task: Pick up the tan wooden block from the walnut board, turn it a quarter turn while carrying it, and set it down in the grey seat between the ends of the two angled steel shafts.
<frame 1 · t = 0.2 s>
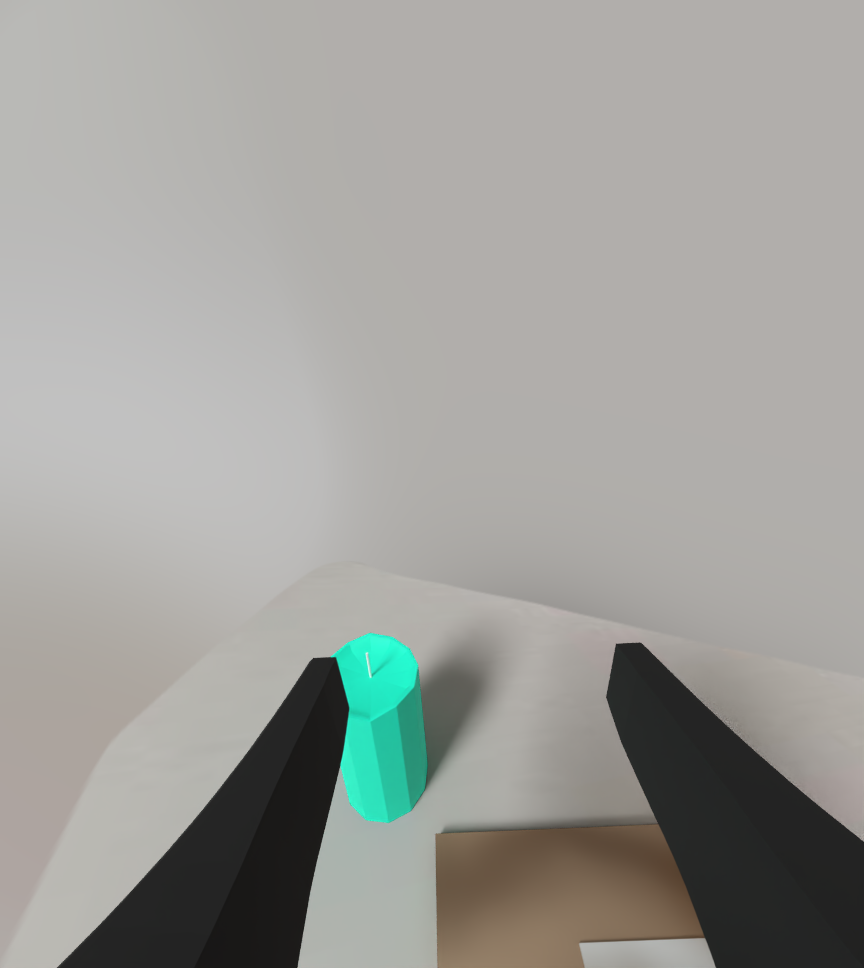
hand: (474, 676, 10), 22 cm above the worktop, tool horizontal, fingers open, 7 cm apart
candle: (387, 774, 27), on the worktop
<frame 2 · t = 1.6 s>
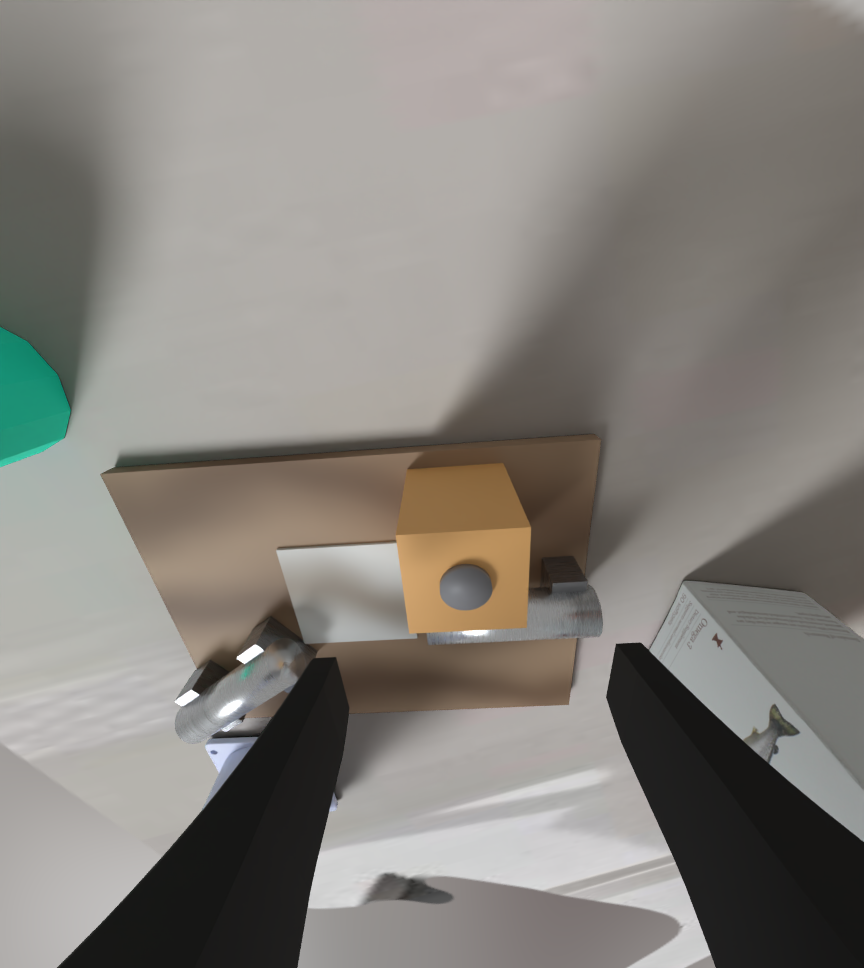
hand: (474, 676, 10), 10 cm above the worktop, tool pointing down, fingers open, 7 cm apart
shaft b: (260, 650, 23), resting on board
candle: (3, 388, 17), on the worktop
tan wooden block: (457, 508, 18), point 1 cm above the worktop, touching board
board: (374, 597, 22), on the worktop
supplement box: (711, 628, 23), on the worktop
shaft a: (500, 577, 21), resting on board
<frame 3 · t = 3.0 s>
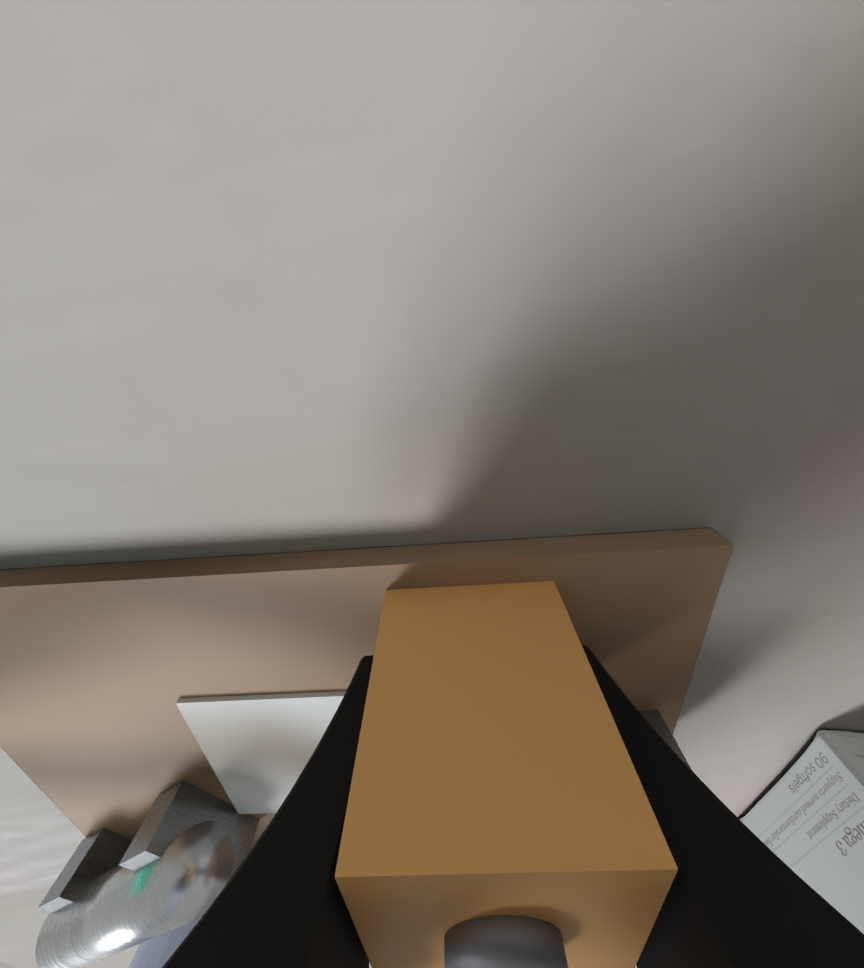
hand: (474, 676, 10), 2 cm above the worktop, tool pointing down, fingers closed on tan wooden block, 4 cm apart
shaft b: (181, 806, 16), resting on board
tan wooden block: (471, 645, 11), point 1 cm above the worktop, touching board, gripper
board: (342, 748, 14), on the worktop
supplement box: (843, 782, 15), on the worktop
shaft a: (535, 724, 13), resting on board
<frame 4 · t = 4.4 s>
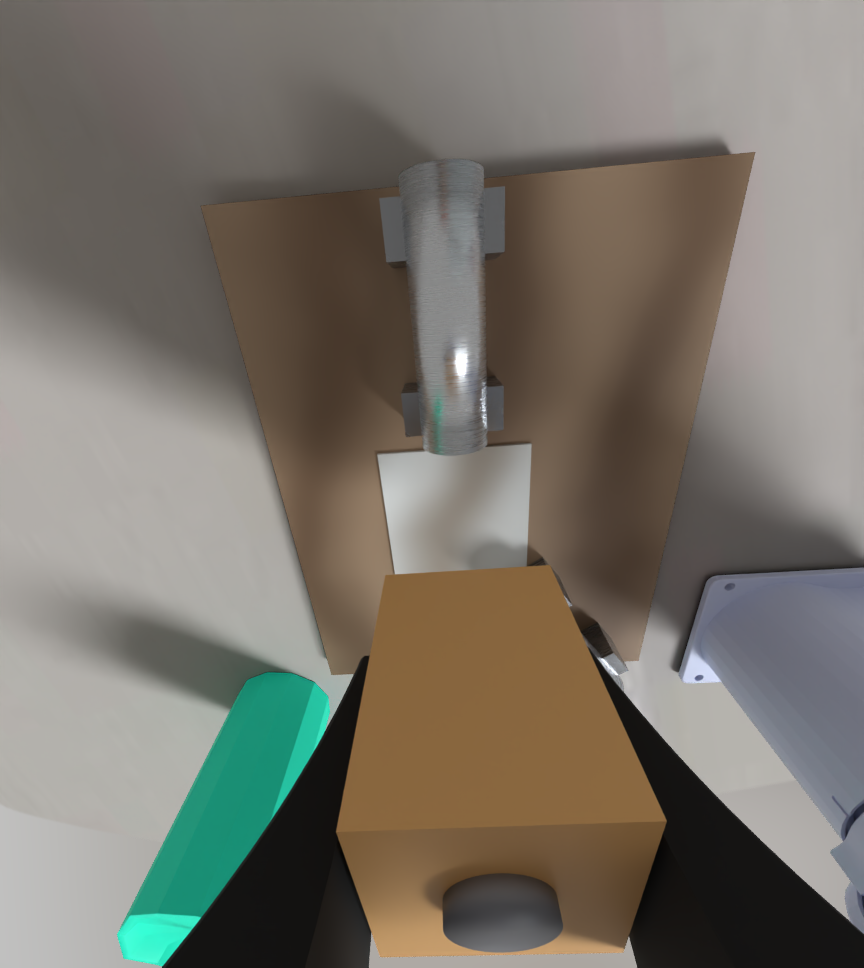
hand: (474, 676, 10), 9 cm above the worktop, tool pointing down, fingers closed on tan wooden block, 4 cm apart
shaft b: (545, 605, 21), resting on board
candle: (286, 699, 25), on the worktop
tan wooden block: (470, 631, 11), point 8 cm above the worktop, touching gripper
board: (476, 486, 18), on the worktop
shaft a: (446, 324, 15), resting on board
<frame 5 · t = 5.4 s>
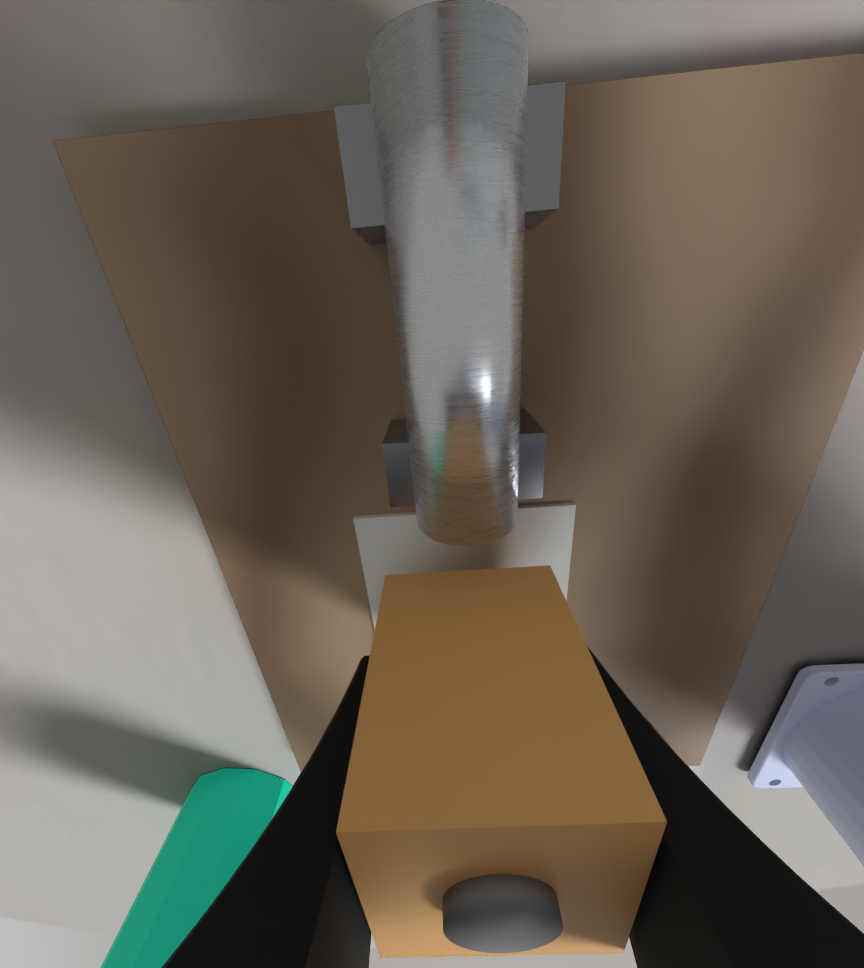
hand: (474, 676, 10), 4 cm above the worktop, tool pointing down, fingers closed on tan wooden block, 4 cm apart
candle: (250, 795, 20), on the worktop
tan wooden block: (470, 631, 11), point 3 cm above the worktop, touching gripper
board: (493, 554, 13), on the worktop
shaft a: (453, 332, 10), resting on board
when the fingers open (3 cm above the worktop, at t = 6.0 s): tan wooden block drops 1 cm, resting on board.
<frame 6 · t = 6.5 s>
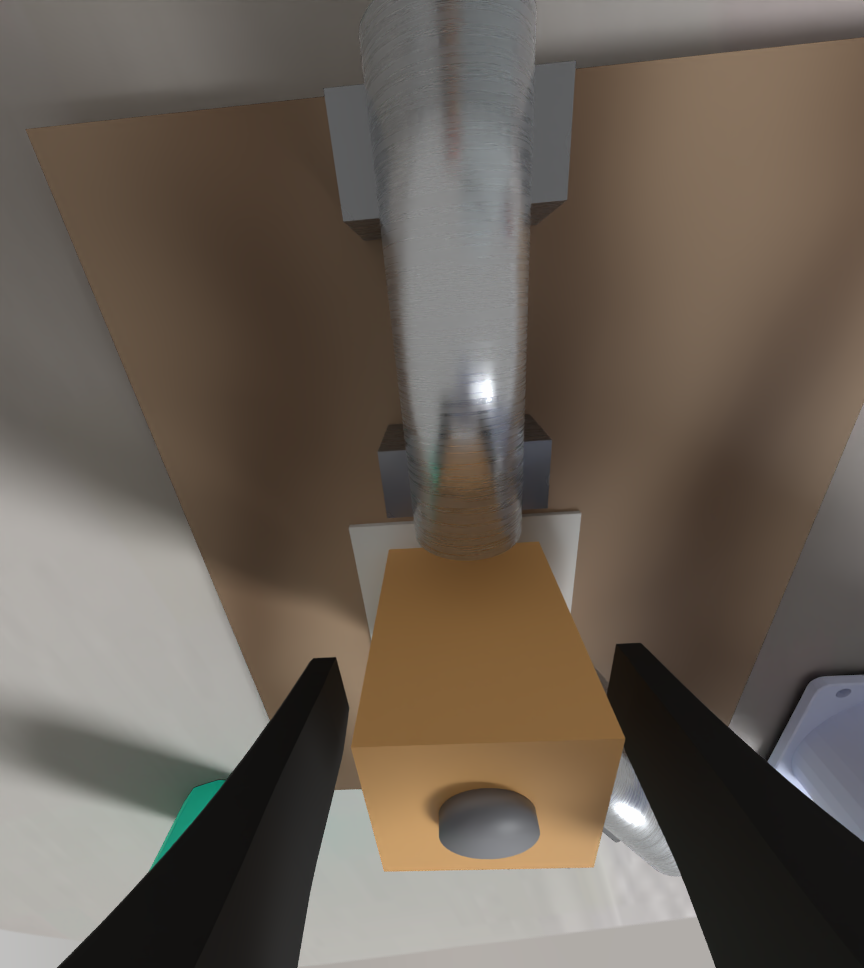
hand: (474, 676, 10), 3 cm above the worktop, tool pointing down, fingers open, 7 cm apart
shaft b: (584, 708, 16), resting on board
candle: (245, 807, 20), on the worktop
tan wooden block: (465, 602, 12), point 1 cm above the worktop, touching board
board: (494, 563, 12), on the worktop
shaft a: (453, 333, 9), resting on board
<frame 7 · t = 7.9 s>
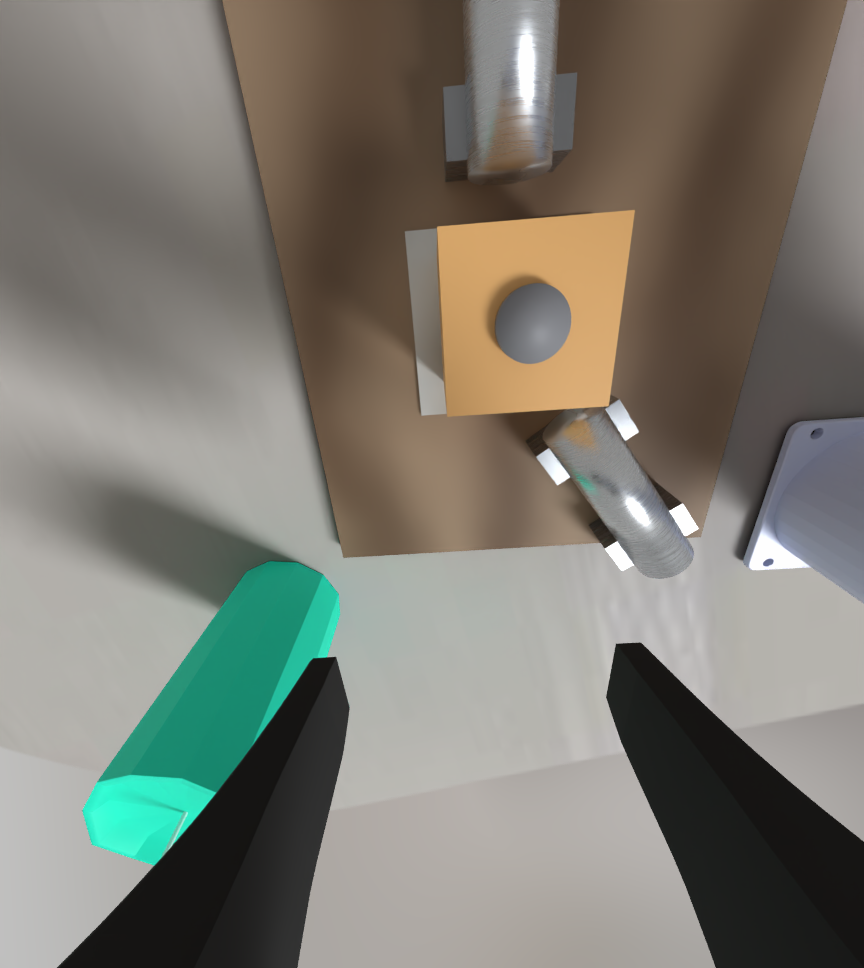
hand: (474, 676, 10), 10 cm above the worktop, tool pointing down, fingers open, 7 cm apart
shaft b: (594, 467, 18), resting on board
candle: (290, 599, 22), on the worktop
tan wooden block: (497, 318, 14), point 1 cm above the worktop, touching board
board: (520, 294, 15), on the worktop
shaft a: (494, 41, 12), resting on board
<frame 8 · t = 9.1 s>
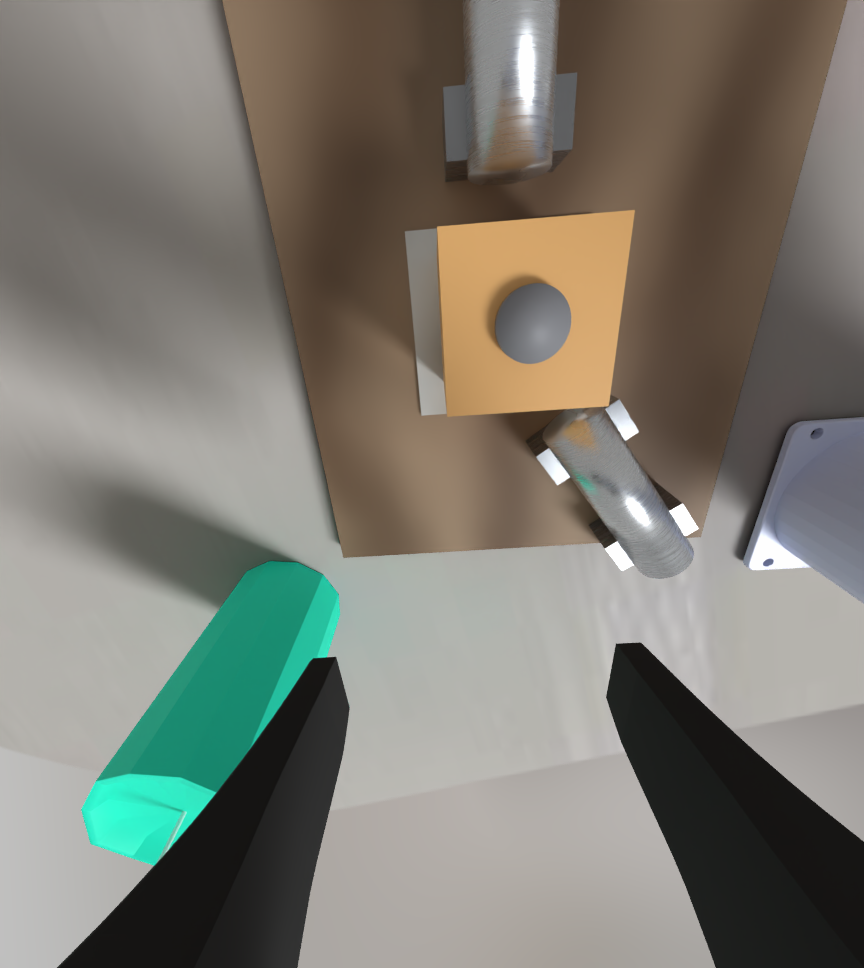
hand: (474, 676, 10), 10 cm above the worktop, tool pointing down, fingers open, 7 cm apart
shaft b: (594, 467, 18), resting on board
candle: (290, 599, 22), on the worktop
tan wooden block: (497, 318, 14), point 1 cm above the worktop, touching board
board: (520, 294, 15), on the worktop
shaft a: (494, 41, 12), resting on board
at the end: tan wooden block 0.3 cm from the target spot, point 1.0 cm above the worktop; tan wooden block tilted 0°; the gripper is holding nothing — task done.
